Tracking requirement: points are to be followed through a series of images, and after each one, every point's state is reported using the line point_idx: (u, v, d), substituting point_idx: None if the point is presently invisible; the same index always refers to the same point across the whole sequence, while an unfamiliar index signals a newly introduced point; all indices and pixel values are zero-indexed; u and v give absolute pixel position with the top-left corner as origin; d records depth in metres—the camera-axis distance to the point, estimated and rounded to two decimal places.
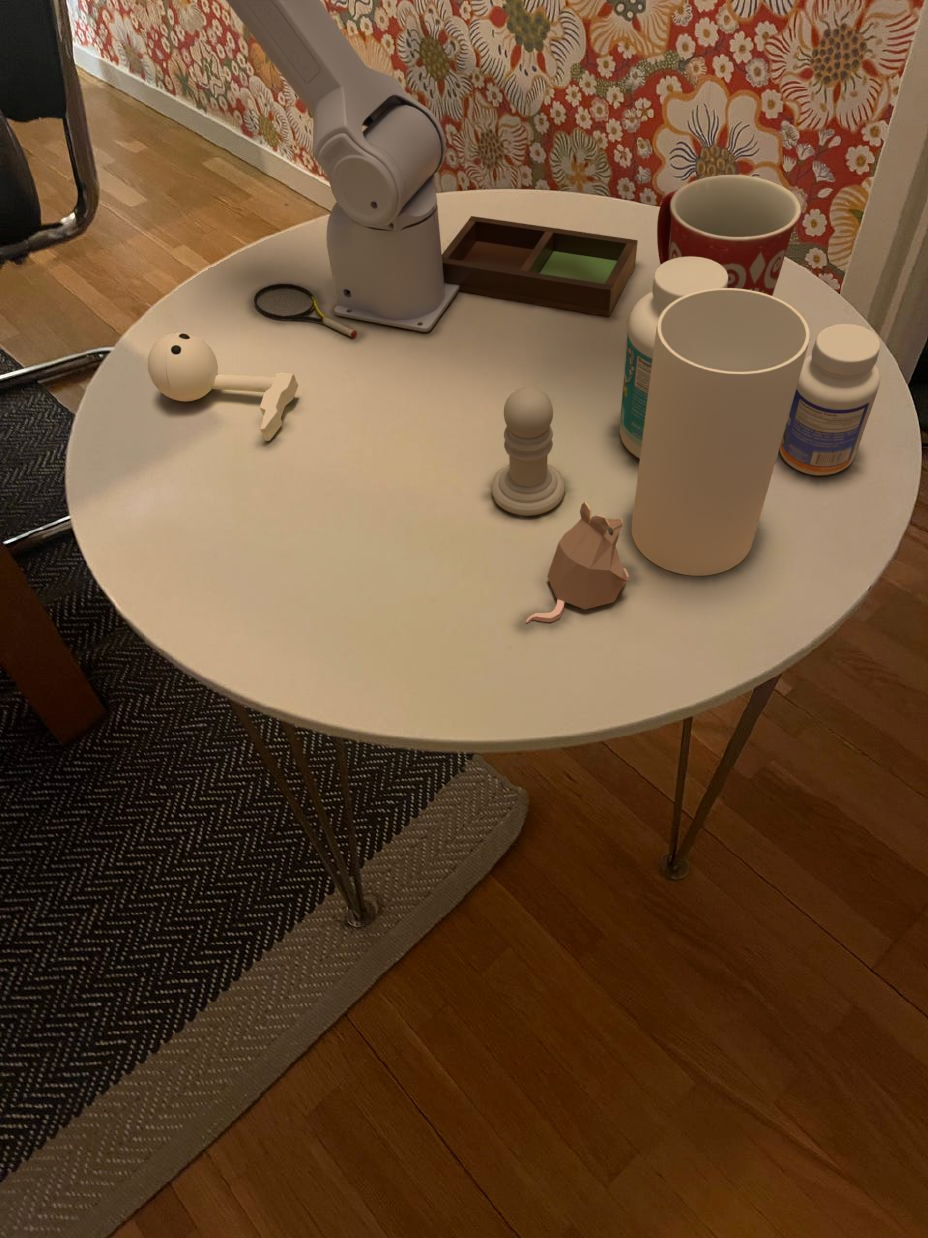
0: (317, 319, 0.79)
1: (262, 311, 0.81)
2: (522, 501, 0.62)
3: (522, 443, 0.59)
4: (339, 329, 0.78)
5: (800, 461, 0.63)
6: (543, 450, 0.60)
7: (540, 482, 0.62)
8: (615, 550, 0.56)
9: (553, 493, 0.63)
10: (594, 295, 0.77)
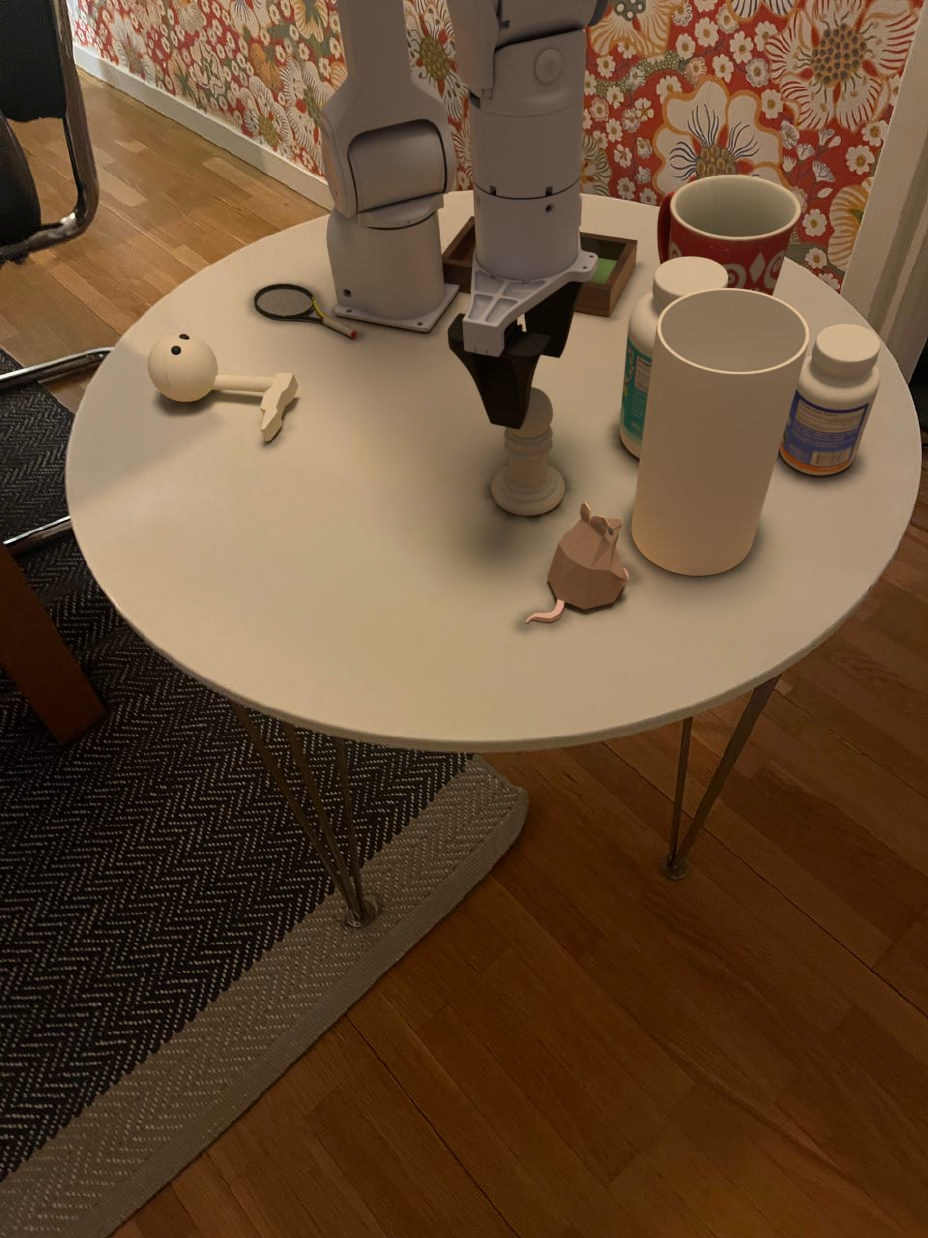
0: (317, 319, 0.79)
1: (262, 311, 0.81)
2: (522, 501, 0.62)
3: (522, 443, 0.59)
4: (339, 329, 0.78)
5: (800, 461, 0.63)
6: (543, 450, 0.60)
7: (540, 482, 0.62)
8: (615, 550, 0.56)
9: (553, 493, 0.63)
10: (594, 295, 0.77)
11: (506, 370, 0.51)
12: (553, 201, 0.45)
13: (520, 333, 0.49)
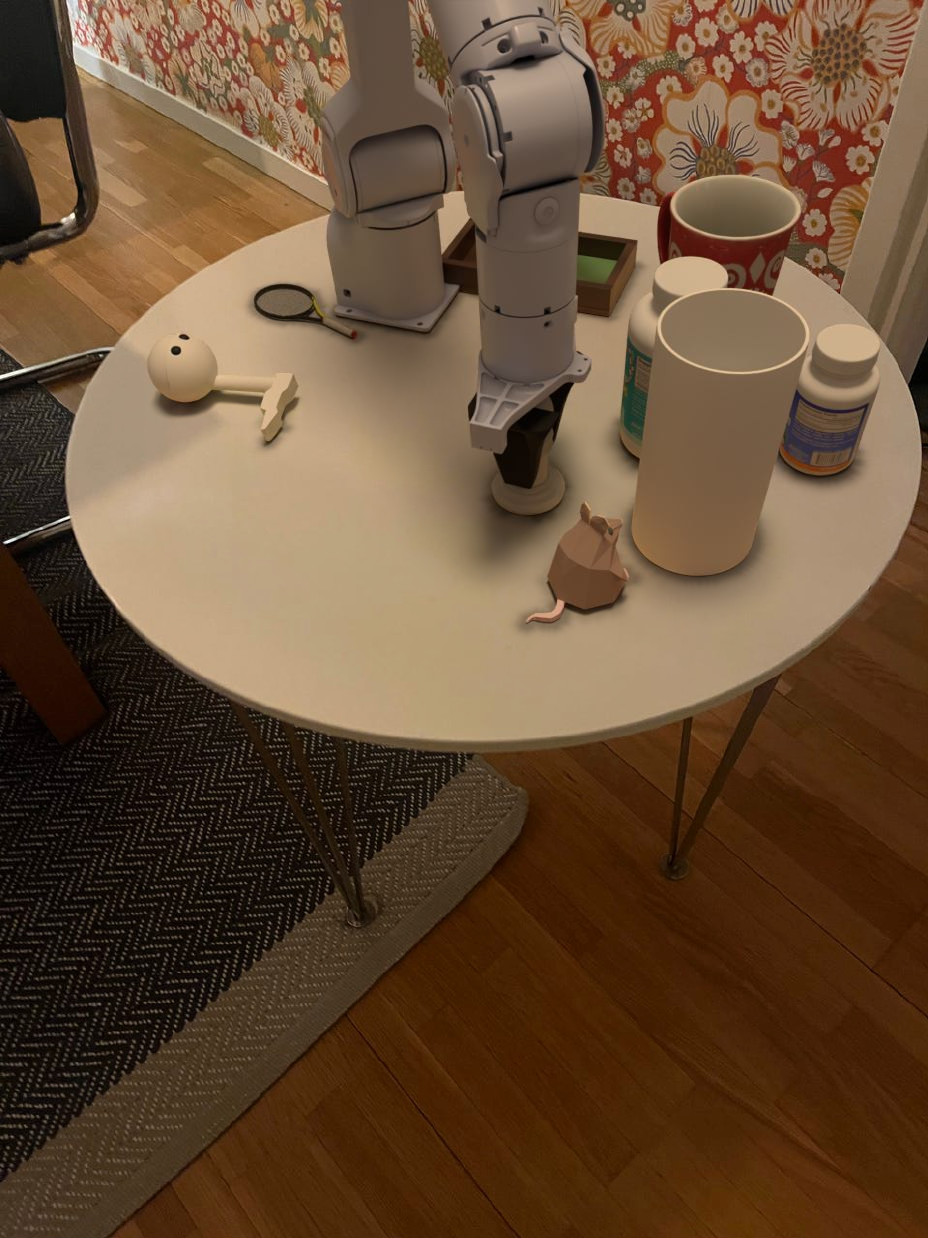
0: (317, 319, 0.79)
1: (262, 311, 0.81)
2: (522, 500, 0.62)
3: None
4: (339, 329, 0.78)
5: (800, 461, 0.63)
6: (543, 449, 0.60)
7: (540, 481, 0.62)
8: (615, 550, 0.56)
9: (553, 492, 0.63)
10: (594, 295, 0.77)
11: (519, 439, 0.58)
12: (551, 318, 0.50)
13: (532, 409, 0.55)
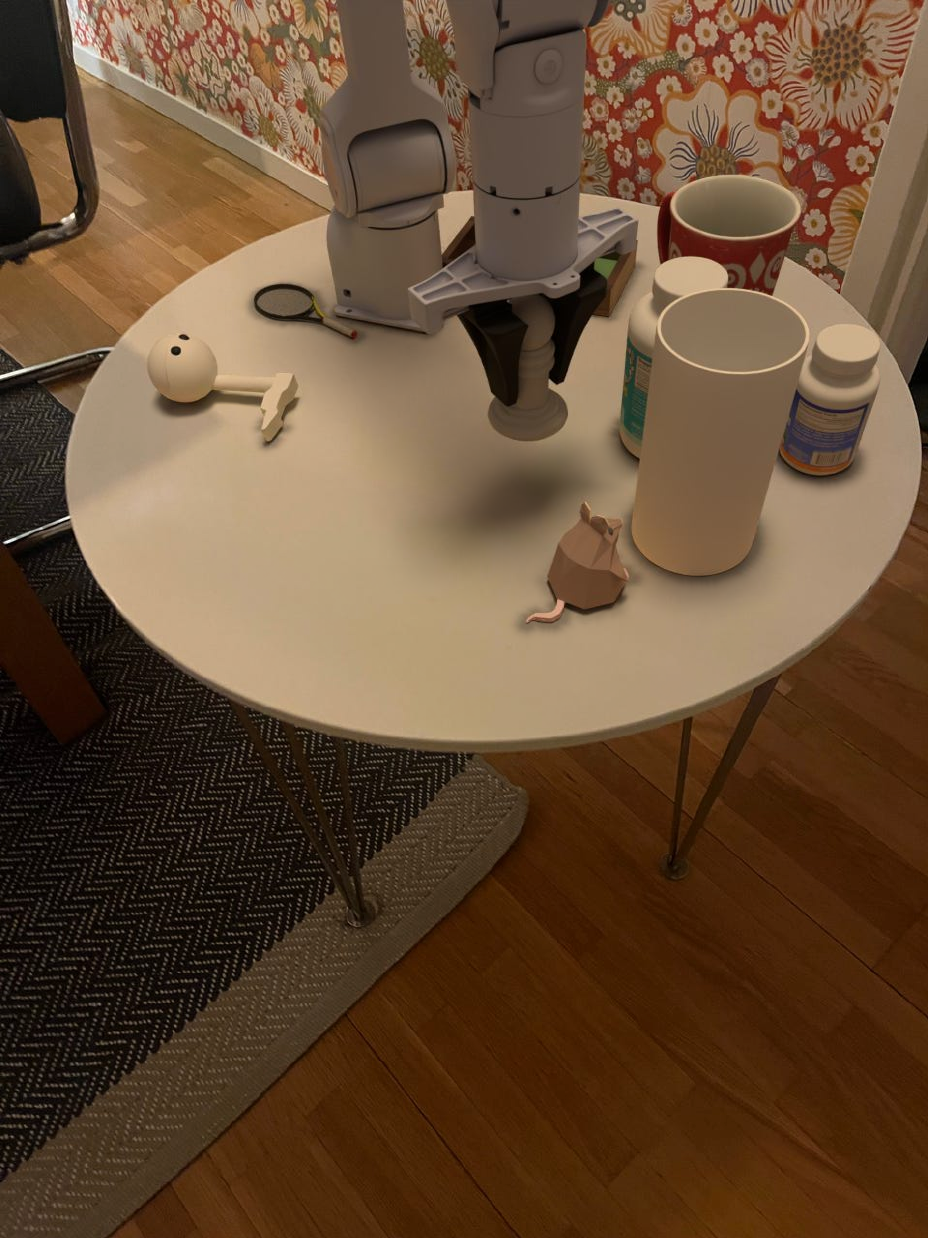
0: (317, 319, 0.79)
1: (262, 311, 0.81)
2: (503, 419, 0.57)
3: None
4: (339, 329, 0.78)
5: (800, 461, 0.63)
6: (531, 369, 0.54)
7: (529, 407, 0.57)
8: (615, 550, 0.56)
9: (539, 425, 0.57)
10: None
11: None
12: (519, 206, 0.45)
13: (505, 312, 0.50)
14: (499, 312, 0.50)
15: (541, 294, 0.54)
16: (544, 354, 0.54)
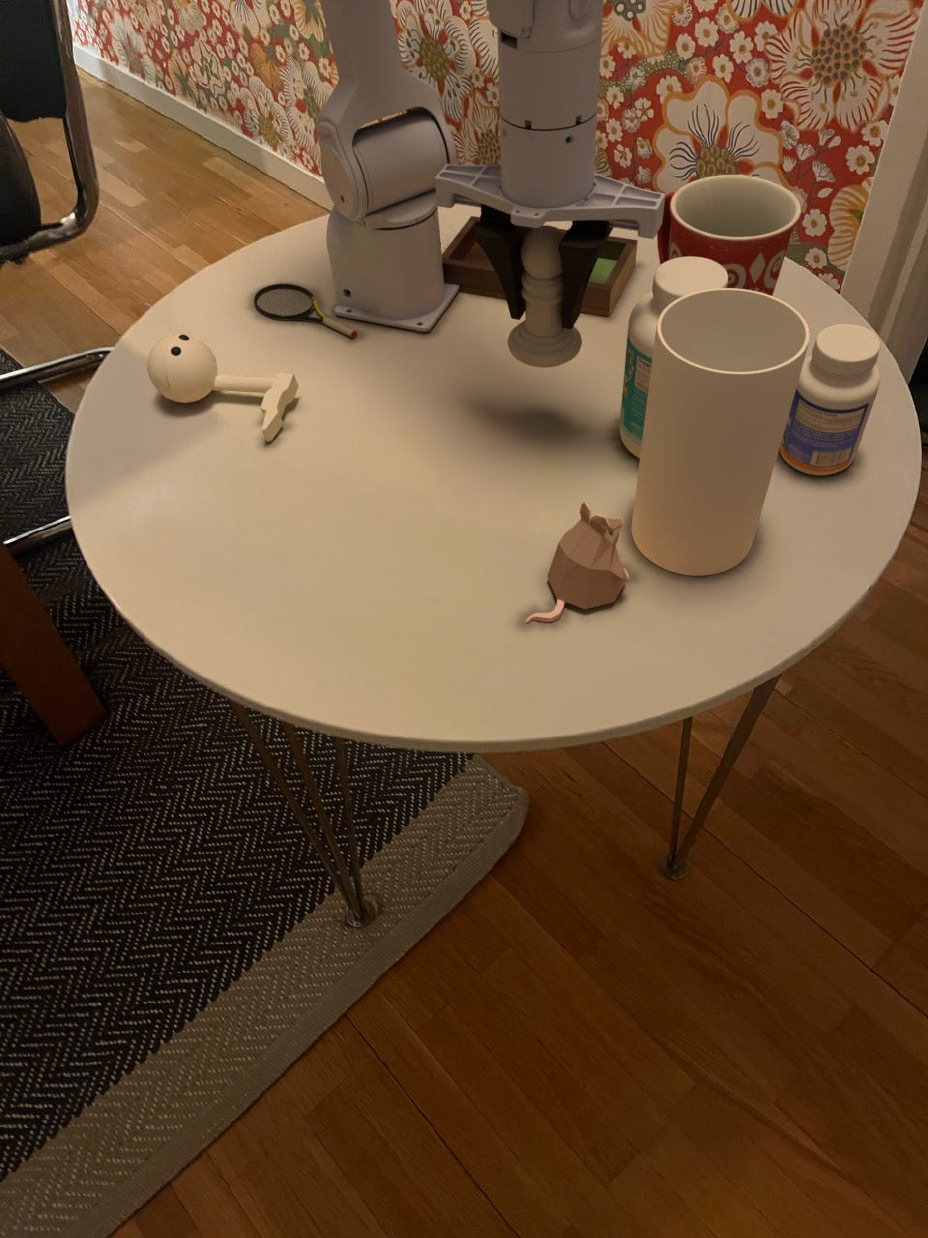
0: (317, 319, 0.79)
1: (262, 311, 0.81)
2: (515, 330, 0.64)
3: (525, 270, 0.60)
4: (339, 329, 0.78)
5: (800, 461, 0.63)
6: (529, 294, 0.60)
7: (529, 330, 0.62)
8: (615, 550, 0.56)
9: (527, 350, 0.62)
10: (594, 295, 0.77)
11: None
12: (505, 127, 0.51)
13: (507, 224, 0.57)
14: (502, 222, 0.57)
15: None
16: (540, 286, 0.59)
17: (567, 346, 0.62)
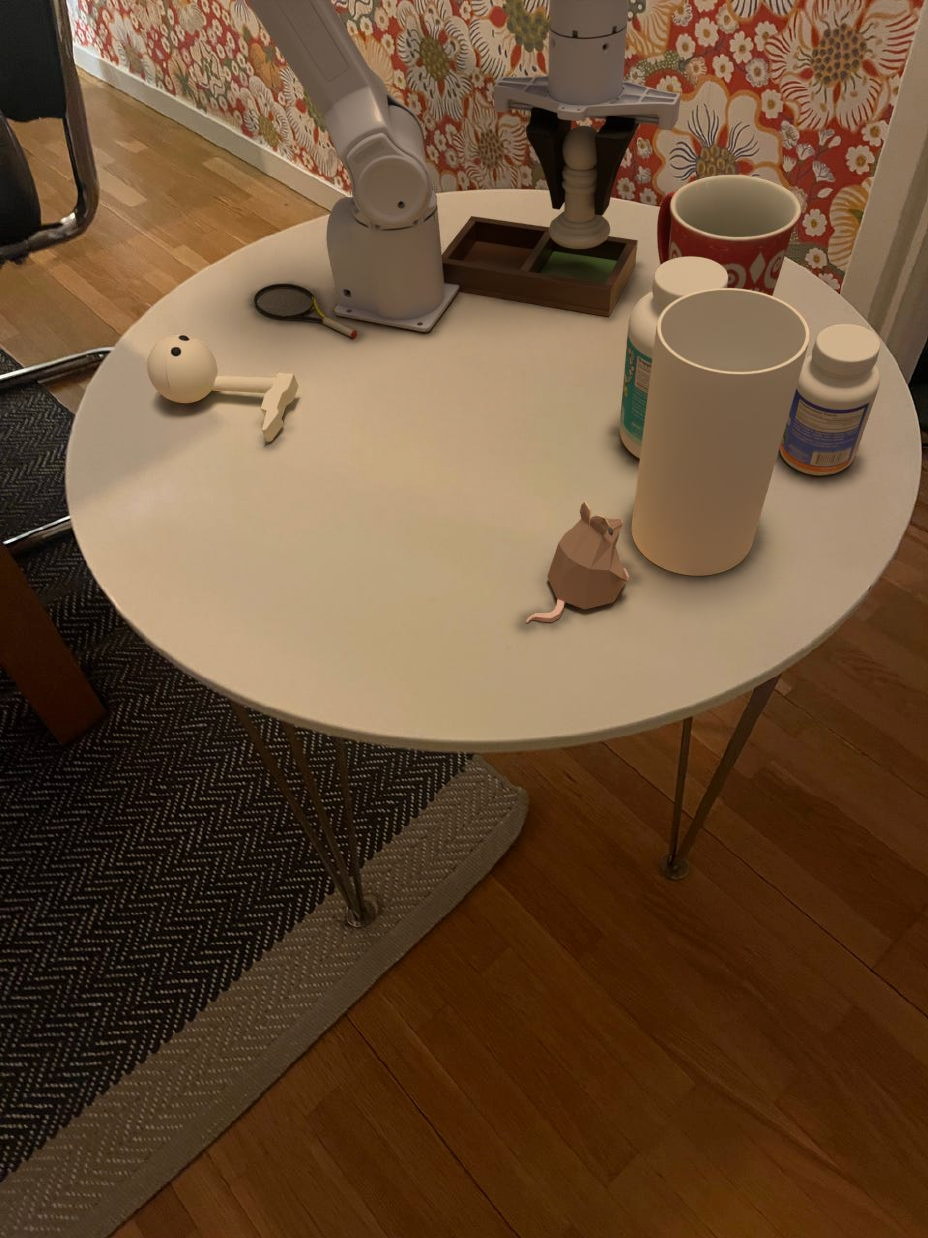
0: (317, 319, 0.79)
1: (262, 311, 0.81)
2: (555, 220, 0.77)
3: (565, 165, 0.73)
4: (339, 329, 0.78)
5: (800, 461, 0.63)
6: (569, 184, 0.73)
7: (567, 218, 0.75)
8: (615, 550, 0.56)
9: (565, 234, 0.76)
10: (594, 295, 0.77)
11: None
12: (554, 37, 0.64)
13: (552, 124, 0.70)
14: (548, 122, 0.70)
15: None
16: (578, 176, 0.72)
17: (599, 231, 0.76)
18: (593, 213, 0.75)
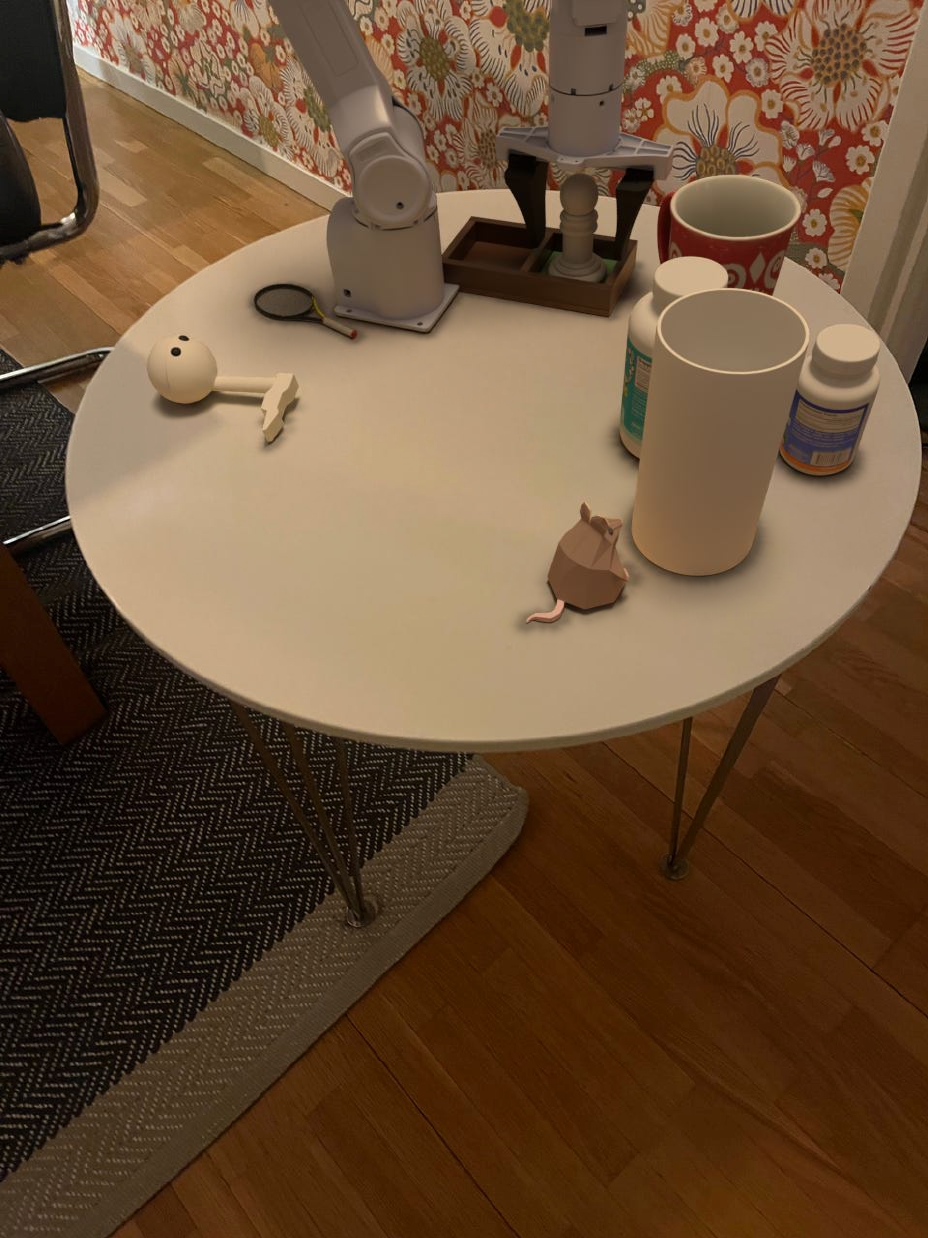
0: (317, 319, 0.79)
1: (262, 311, 0.81)
2: (554, 261, 0.80)
3: (562, 210, 0.76)
4: (339, 329, 0.78)
5: (800, 461, 0.63)
6: (566, 228, 0.76)
7: (566, 259, 0.79)
8: (615, 550, 0.56)
9: (564, 275, 0.79)
10: (594, 295, 0.77)
11: None
12: (553, 94, 0.67)
13: (529, 169, 0.74)
14: (525, 168, 0.74)
15: None
16: (575, 221, 0.75)
17: (596, 271, 0.79)
18: (590, 255, 0.78)
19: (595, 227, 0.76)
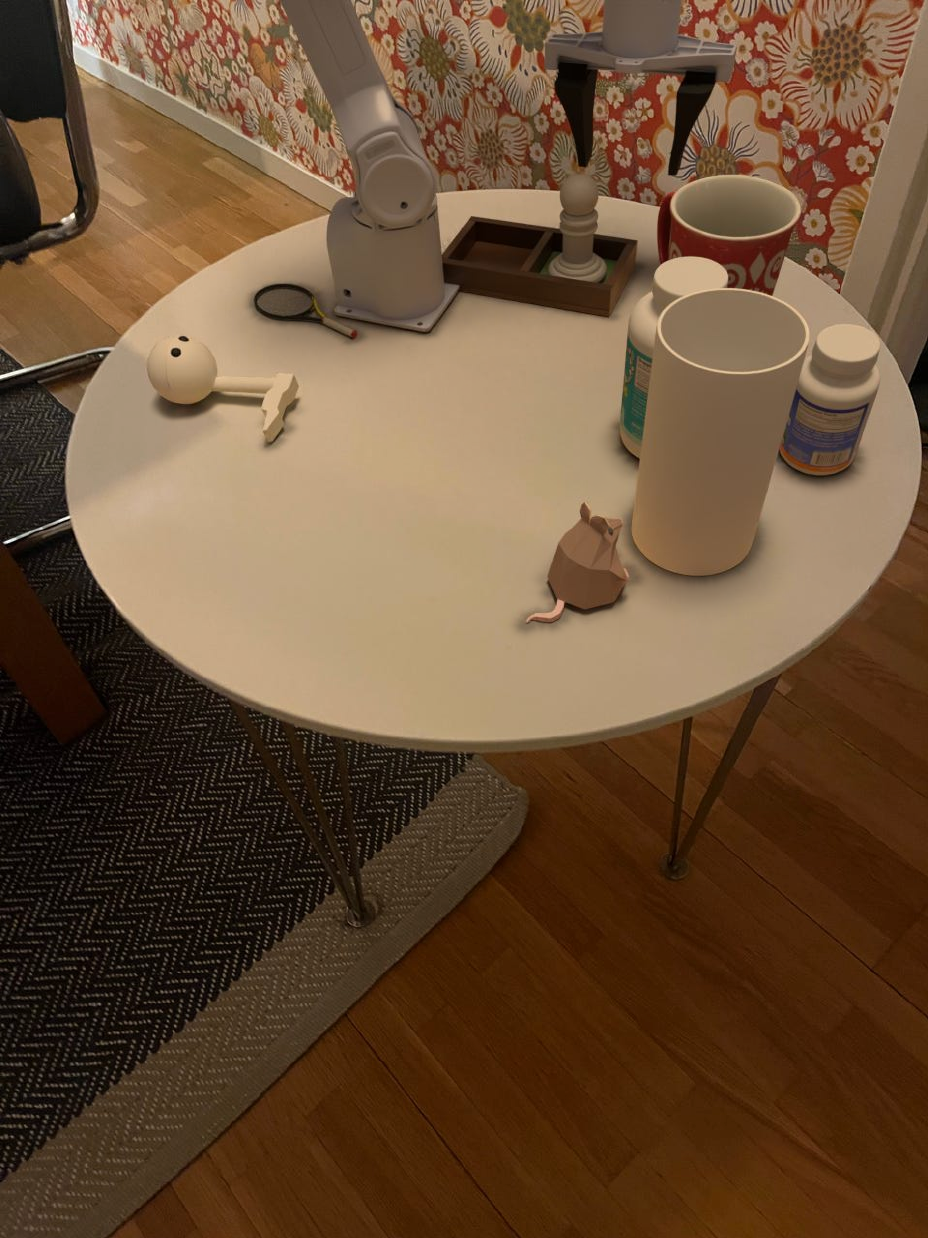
0: (317, 319, 0.79)
1: (262, 311, 0.81)
2: (554, 261, 0.80)
3: (562, 210, 0.76)
4: (339, 329, 0.78)
5: (800, 461, 0.63)
6: (566, 228, 0.76)
7: (566, 259, 0.79)
8: (615, 550, 0.56)
9: (564, 275, 0.79)
10: (594, 295, 0.77)
11: None
12: None
13: (580, 78, 0.70)
14: (576, 76, 0.70)
15: None
16: (575, 221, 0.75)
17: (596, 271, 0.79)
18: (590, 255, 0.78)
19: (595, 227, 0.76)
